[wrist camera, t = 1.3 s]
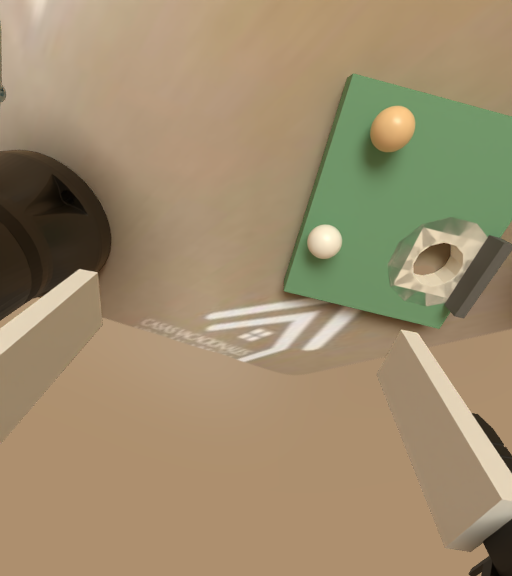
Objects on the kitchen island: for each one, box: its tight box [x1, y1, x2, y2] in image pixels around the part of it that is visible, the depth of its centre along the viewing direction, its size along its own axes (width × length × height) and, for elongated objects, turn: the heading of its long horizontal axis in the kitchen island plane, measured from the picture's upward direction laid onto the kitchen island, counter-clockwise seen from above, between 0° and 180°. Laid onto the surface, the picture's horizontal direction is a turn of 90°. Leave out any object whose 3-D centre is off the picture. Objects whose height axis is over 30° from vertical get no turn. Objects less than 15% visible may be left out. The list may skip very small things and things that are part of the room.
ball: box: [307, 224, 342, 259], centre depth 28 cm, size 3×3×3 cm
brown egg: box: [370, 106, 415, 152], centre depth 23 cm, size 3×3×3 cm
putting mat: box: [284, 74, 512, 329], centre depth 28 cm, size 19×20×5 cm
